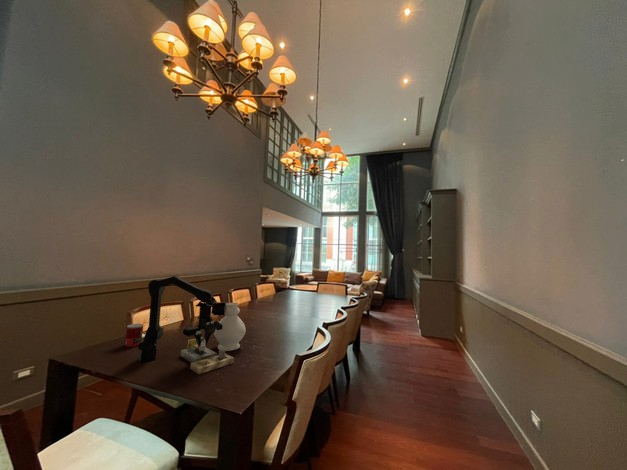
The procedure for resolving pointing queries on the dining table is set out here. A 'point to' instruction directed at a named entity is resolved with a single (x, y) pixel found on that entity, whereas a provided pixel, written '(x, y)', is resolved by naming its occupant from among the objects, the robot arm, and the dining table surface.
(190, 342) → the key
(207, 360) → the rack
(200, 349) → the grey rounded cylinder
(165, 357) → the dining table surface
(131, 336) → the canned food
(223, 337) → the decorative vase
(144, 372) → the dining table surface
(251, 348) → the dining table surface
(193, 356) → the socket
